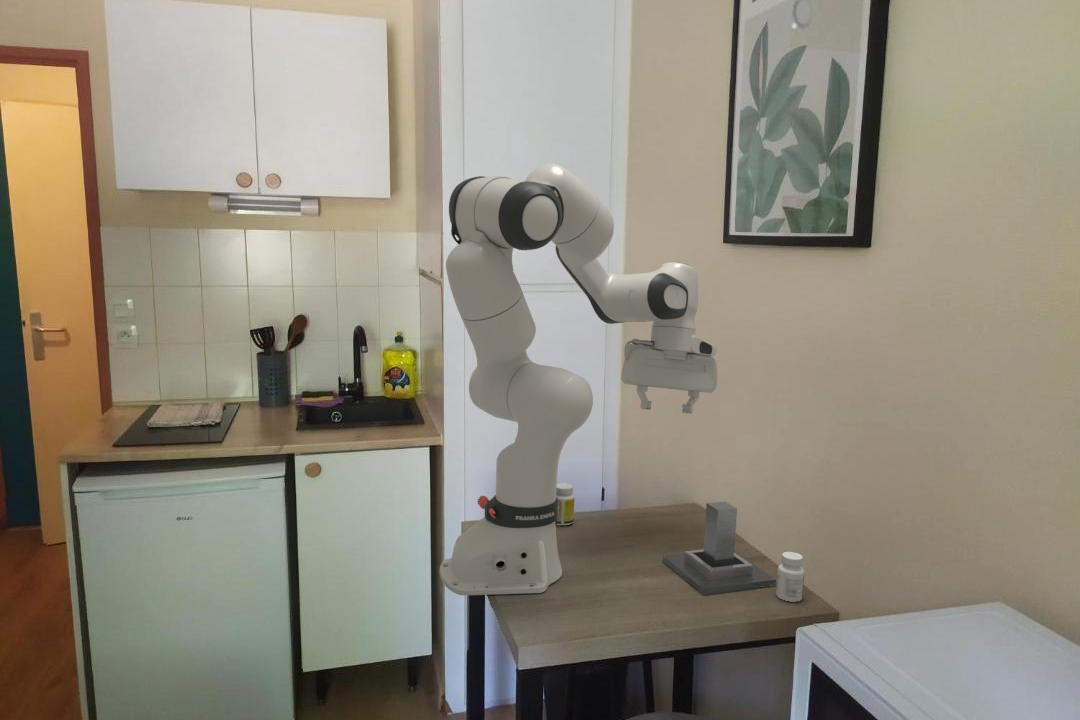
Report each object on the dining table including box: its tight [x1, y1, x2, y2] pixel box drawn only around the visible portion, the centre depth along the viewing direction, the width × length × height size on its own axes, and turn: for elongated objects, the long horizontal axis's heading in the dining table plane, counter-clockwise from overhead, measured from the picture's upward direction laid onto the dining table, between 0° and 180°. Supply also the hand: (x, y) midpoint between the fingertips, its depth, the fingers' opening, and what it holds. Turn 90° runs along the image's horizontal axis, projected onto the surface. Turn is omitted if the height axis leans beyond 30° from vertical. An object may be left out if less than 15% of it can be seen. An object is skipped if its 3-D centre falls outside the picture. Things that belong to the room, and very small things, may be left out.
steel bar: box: [702, 501, 738, 568], centre depth 142 cm, size 4×4×12 cm
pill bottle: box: [775, 551, 805, 603], centre depth 133 cm, size 4×4×8 cm
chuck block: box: [662, 548, 777, 597], centre depth 142 cm, size 15×15×3 cm
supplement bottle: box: [556, 482, 575, 525], centre depth 166 cm, size 5×5×8 cm
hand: (666, 411), depth 154 cm, fingers open, 8 cm apart
